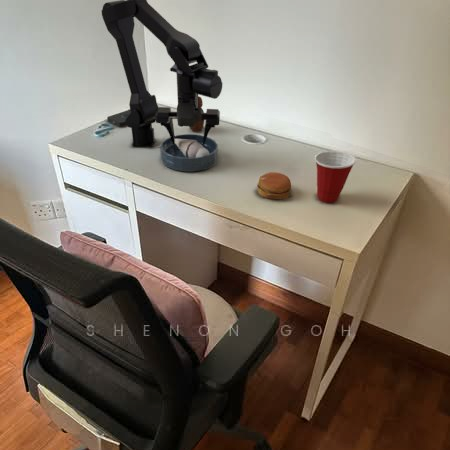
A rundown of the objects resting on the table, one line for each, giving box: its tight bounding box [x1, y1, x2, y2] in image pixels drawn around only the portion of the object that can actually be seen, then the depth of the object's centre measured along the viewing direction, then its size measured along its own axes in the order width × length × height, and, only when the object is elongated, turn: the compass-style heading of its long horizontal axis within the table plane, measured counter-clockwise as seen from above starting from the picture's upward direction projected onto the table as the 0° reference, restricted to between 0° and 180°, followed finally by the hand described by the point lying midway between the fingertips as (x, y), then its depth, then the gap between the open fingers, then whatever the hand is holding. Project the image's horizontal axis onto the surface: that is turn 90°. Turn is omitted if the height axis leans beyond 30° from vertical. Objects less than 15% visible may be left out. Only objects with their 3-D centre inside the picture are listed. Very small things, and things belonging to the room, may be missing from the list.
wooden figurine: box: [189, 94, 205, 133], centre depth 145 cm, size 7×6×15 cm
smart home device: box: [106, 109, 131, 128], centre depth 157 cm, size 8×2×20 cm
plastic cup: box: [314, 150, 357, 204], centre depth 114 cm, size 11×11×12 cm
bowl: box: [159, 133, 219, 172], centre depth 132 cm, size 18×18×4 cm
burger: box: [256, 171, 292, 200], centre depth 118 cm, size 10×9×5 cm
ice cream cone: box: [175, 139, 209, 158], centre depth 131 cm, size 6×6×15 cm
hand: (188, 144), depth 130 cm, fingers open, 9 cm apart
